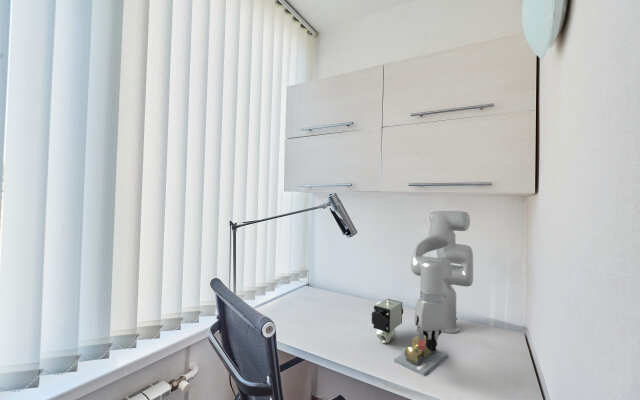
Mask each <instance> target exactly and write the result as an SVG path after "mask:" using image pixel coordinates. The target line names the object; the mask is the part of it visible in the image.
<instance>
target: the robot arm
mask: <svg viewBox="0 0 640 400" xmlns="http://www.w3.org/2000/svg"><path fill="white" fill-rule="evenodd" d="M428 219H429V223H430V224H429V225H430V226H429V230H428V231H429V232H428V236H426V237H425V238H423V239H422V240H421V241H419V242H418V244H416V245H415V248H414V249H413V253H412V258H411V262H410V264H411V265H410V267H411V268H410V269H411V272H412V273H413V274H414V275H416V276H418V277H420V284H419V285H420V288H419V289H420V293H419V294H420V295H419V298H417V302H416V306H415V315H414V325H415V326H416V330H415V331H416V333H418V334H424V337H425V336H426V347H427V348H428V349H429V350H430V351H436V350H437V347H436V340H437V341H438V339H439V336H441V334H445V333H447V334H458V333H459V332H460V326H458V325H457V320H458V317H457V292H456V290H455V288H454V287H453V286H458V287H459V286H460V287H471V286H472V285H473V283H474V253H473V250H472V249H473V248H472V247H471V246H470V245H467V244H462V243H461V244H460V243H459V244H458V243H456V231H457V232H458V231H459V232H467V231H468V230H469V228H470V225H471V217H470V214H469V213H468V212H467V211H462V210H461V211H460V210H436V211H432V212H430V213H429V215H428ZM433 251H436V256H437V257H431V256H424V255H425V254H427V253H429V252H433ZM455 264H457V265H455Z"/></svg>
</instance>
